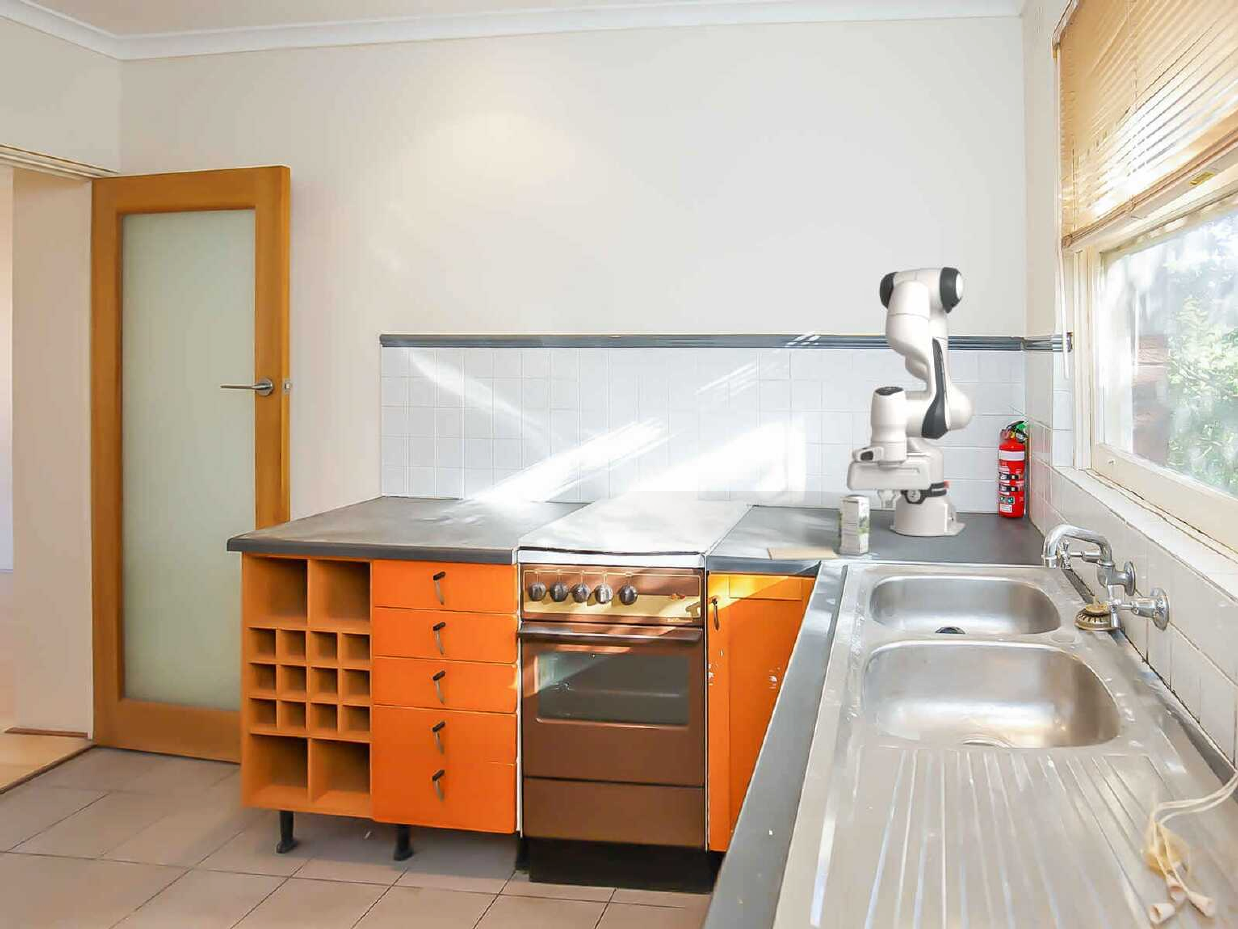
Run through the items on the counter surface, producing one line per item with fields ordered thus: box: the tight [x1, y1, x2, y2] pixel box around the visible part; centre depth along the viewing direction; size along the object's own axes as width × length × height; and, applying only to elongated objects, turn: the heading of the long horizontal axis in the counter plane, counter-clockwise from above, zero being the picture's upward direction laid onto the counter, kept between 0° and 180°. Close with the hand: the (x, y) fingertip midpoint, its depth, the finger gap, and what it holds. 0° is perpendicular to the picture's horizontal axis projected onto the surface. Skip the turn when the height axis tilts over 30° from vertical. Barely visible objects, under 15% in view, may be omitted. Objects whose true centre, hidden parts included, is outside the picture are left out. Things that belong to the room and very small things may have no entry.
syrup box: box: [837, 494, 871, 557], centre depth 265 cm, size 6×6×14 cm
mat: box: [767, 546, 839, 561], centre depth 267 cm, size 16×14×1 cm
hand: (888, 507), depth 264 cm, fingers closed
